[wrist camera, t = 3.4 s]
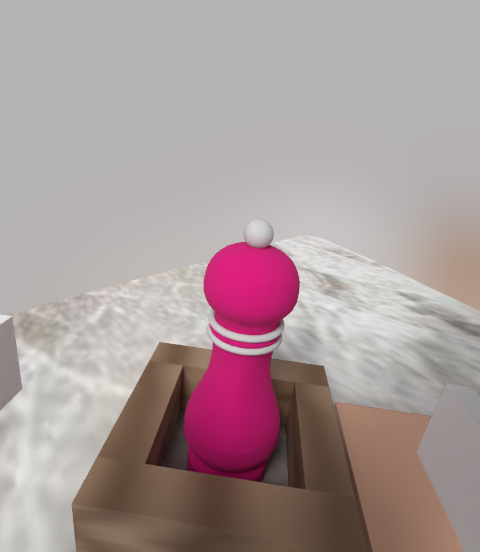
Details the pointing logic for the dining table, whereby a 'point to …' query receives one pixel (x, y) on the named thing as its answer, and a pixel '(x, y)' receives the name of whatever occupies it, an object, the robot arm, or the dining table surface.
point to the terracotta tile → (393, 481)
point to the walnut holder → (212, 488)
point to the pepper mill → (241, 358)
